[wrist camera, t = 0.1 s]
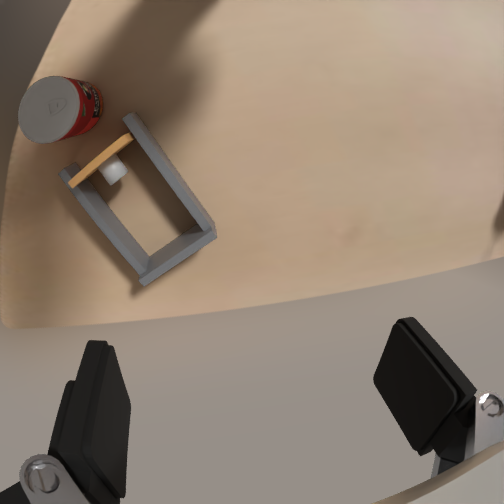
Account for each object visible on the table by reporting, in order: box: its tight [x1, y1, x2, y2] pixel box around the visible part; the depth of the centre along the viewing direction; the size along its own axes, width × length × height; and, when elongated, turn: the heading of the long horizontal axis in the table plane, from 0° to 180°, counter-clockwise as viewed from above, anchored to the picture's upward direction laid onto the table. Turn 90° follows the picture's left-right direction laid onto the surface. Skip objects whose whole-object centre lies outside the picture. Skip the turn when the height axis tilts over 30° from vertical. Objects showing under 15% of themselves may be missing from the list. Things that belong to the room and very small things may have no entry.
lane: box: [58, 113, 217, 286], centre depth 40 cm, size 20×12×6 cm, turn 31°
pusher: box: [68, 132, 136, 189], centre depth 37 cm, size 4×9×7 cm, turn 121°
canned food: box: [18, 76, 103, 144], centre depth 31 cm, size 8×8×11 cm
